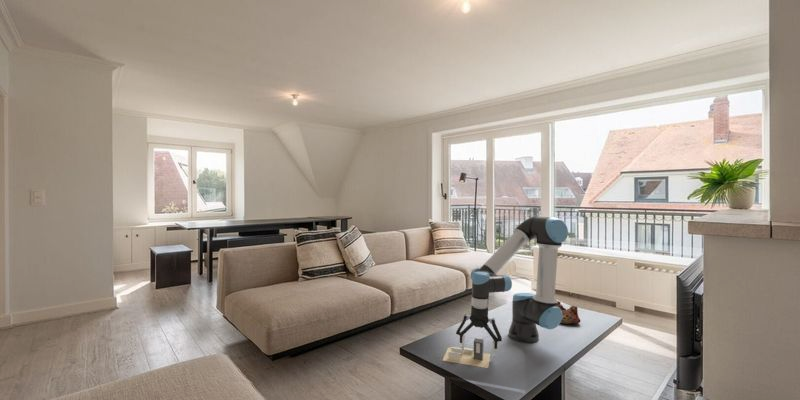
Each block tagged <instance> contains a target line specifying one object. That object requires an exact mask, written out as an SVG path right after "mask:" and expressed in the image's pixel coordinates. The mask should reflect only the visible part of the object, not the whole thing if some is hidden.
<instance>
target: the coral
mask: <svg viewBox="0 0 800 400" xmlns="http://www.w3.org/2000/svg"><path fill="white" fill-rule="evenodd" d="M557 301H558V306H557V307H559V308H560V309H561V311H562V320H561V322H560V324H561V323H562V324H579V323H581V319H580V317H579V312H578V310H579V309H578V306H575V305H571V306H570V307H569V308H567V309H566V308H565V307H564V306H563V305H562V304H561V301H559V300H557Z"/></svg>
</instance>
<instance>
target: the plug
mask: <svg viewBox="0 0 800 400" xmlns="http://www.w3.org/2000/svg"><path fill="white" fill-rule="evenodd" d="M484 340H485V339H483V338H478V337H475V338H474V339H473V351H474V357H473V359H476V360H482V361H483V353H484V348H485V347H484V345H485V344H484V343H485V342H484Z"/></svg>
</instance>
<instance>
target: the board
mask: <svg viewBox="0 0 800 400" xmlns="http://www.w3.org/2000/svg"><path fill="white" fill-rule="evenodd" d="M491 355H492V353H486V352H483V361H482V360H476V359H473V357H474V348H467V347H464V351H462V347H454V346H451V347H447V350H446V352H445V353H444V356H443V359H442V361H443V362H450V363H454V364H456V363H457V364H459V365H460V364H462V365H468V366H474V367H479V368H485V369H489V365H490V360H491Z"/></svg>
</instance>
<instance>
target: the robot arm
mask: <svg viewBox="0 0 800 400" xmlns="http://www.w3.org/2000/svg"><path fill="white" fill-rule="evenodd" d="M568 234H569V230H568V226H567V224H566V223H565V221H564V220H562V219H560V218H558V217H554V216H553V217H549V216H537V215H536V216H531V217H529V218H527V219H525V220H524V221H522V222H521V223H520V224H518V226H516V227H515V228H514V229H513V233H512V234H511V235H510V236H509V237H508V238H507V240H506V241H504V242H503V244H502V245H501V246H500V247H499V248H498V249H497V250H496V251H495V252H494V253H493V254H492V255H491V256H490V258H488V259H487V260H486V261H485V263H484V264H483V265H482V266H480V268H479V267H477V268H474V269H472V270H471V273H470V279H471V306H470V308H471V309H470V315H468V314H466V313H465V314H464V316H463V320H462V321H461V323H460V325H458V328H457V330H456V332H455V334H456V335H458V336H459V343H460V344H461V348H462V351H464V348H465V339H466V338H465V334H466V333H468V331H469V330H470V329H471V328H473V327H475V328H481V329H482V328H484V330H486V332H487V333H488V334H489V336H490V337H491V338H492V353H491V355H492V357H493V358H494V357H495V351H496V350H497V349H498V342H502V339H503V338H502V336H501V333H500V330H499V329H498V326H497V325H496V318H495V317H493V318H489V299H490V294H491V293H492V294H494V293H505V292H509V291H510V290H511V289H512V286H513V282H512V279H511V277H510V276H509V275H506V274H498V273H499V272H500V271H501V269H502V268H503V267H504V266H505V265H506V264H507V263H508V262H509V261H510V260H511V259H512V257H514V256H515V255H516V253H517V252H518V251H519V250H520V249H521V248H522V247H523V246H524V245H525V244H529V243H530V242H531V241H532V240H535V239H536V241H535V243H536V245H537V246H538V258H537V275H536V288H535V289H536V290H535V293H532V292H531V293H530V292H517V293H514V294H513V295H512V296H513V297H512V303H511V305H512V309H511V310H512V312H511V313H512V318H511V319H512V321H511V324H510V327H509V328H508V336H509V338H511V339H512V340H514V341H517V342H522V343H537V342H538V341H539V340H540V338H539V337H540V334H539V331H538V328H537V326H538V327H541V328H544V329H546V330H553V329H555V328H557V327H558V326H559V325H560V324H561V320H562V311H561V309H560V308H559V307H557V306H558V301H559V300H558V299H556V297H555V296H556V284H557V281H556V280H557V267H558V253H559V249H560V248H561V247H562V246H563V245H562V243H563V242H566V239H567V238H568ZM469 320H470V323H469V324H468V325H467V326H466V327H464V325H465V323H466V322H467V321H469ZM489 323H490V324H491V326H492V328H493V330H494V332H493V331H492V328H491V327H490V326H489ZM463 327H464V329H463ZM462 329H463V330H462ZM461 330H462V331H461Z"/></svg>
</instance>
